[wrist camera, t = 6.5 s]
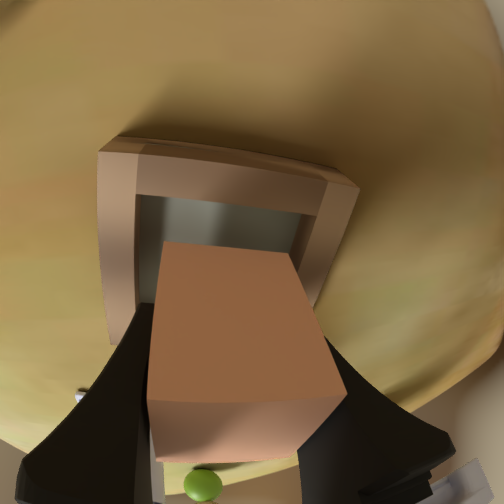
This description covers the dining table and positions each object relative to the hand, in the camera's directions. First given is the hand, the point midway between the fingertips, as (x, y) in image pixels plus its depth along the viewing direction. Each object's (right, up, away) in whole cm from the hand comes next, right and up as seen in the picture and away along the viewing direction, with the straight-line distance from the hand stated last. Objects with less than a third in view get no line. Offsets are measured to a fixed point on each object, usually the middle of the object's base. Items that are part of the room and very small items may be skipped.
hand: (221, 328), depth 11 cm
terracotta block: (0, +1, +1) cm, 2 cm away
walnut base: (-1, +3, +4) cm, 5 cm away
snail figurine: (-6, -28, +24) cm, 38 cm away
